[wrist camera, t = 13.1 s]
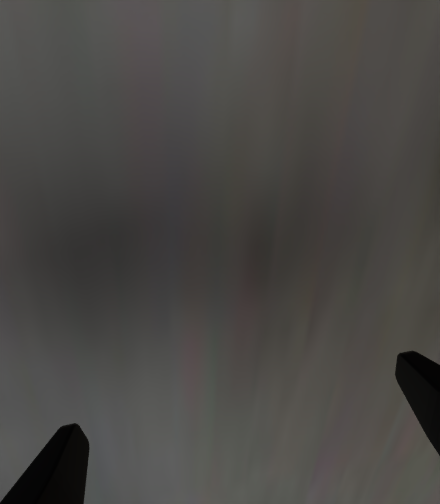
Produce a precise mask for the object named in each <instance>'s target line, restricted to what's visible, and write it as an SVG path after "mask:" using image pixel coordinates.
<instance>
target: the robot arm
mask: <svg viewBox="0 0 440 504" xmlns="http://www.w3.org/2000/svg"><path fill="white" fill-rule="evenodd" d="M395 376H396V380H397V382H398V384H399V386H400V388H401V390H402V391H403V393H404V395H405V397H406V399H407V401H408V402H409V404H410V406H411V408H412V410H413V412H414V414H415V415H416V417H417V419H418V421H419V423H420V425H421V426H422V428H423V430H424V432H425V434H426V435H427V437H428V439H429V440H430V442H431V443H432V445H433V446H434V448H435V449H436V451H437V452H438V454H439V455H440V365H439V364H437V363H435V362H434V361H432V360H430V359H428V358H426V357H425V356H423V355H421V354H419V353H417V352H415V351H408V352H403V353H400V354H399V355H398V356H397V363H396V371H395ZM88 457H89V442H88V439H87V437H86V436H85V434H84V433H83V431H82V429H81V428H80V426H79V425H78V424H76V423H73V424H69V425H64V426H62V427H60V428H59V429H58V430H57V432H56V433H55V434H54V435H53V437H52V438H51V439H50V440H49V442H48V443H47V444H46V445H45V447H44V448H43V449H42V451H41V452H40V453H39V454H38V456H37V457H36V458H35V459H34V461H33V462H32V463H31V464H30V466H29V467H28V468H27V469H26V471H25V472H24V473H23V474H22V476H21V477H20V478H19V479H18V481H17V482H16V483H15V484H14V486H13V487H12V488H11V490H10V491H9V492H8V493H7V495H6V496H5V497H4V498H3V500H2V501H1V502H0V504H84V495H85V485H86V476H87V466H88Z"/></svg>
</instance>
